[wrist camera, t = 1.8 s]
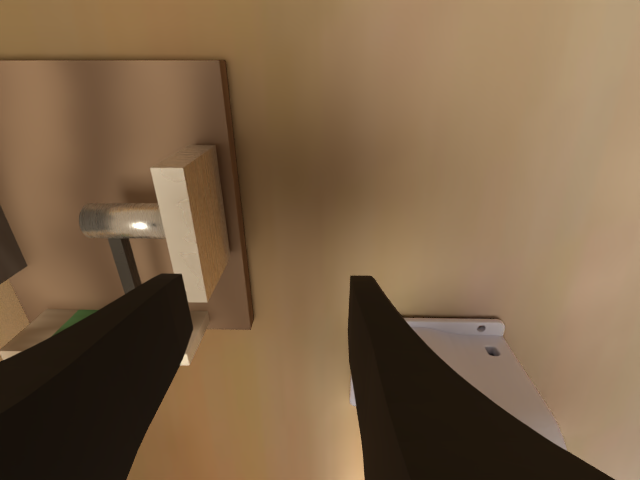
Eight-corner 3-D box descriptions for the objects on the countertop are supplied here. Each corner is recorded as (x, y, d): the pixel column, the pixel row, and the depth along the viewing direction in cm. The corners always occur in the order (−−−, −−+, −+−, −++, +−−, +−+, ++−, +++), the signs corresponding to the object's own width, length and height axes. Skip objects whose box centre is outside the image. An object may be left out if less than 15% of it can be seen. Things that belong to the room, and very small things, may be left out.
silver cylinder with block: (215, 144, 16) (183, 167, 12) (237, 308, 20) (218, 361, 17) (99, 144, 16) (33, 167, 13) (145, 307, 21) (106, 359, 17)
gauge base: (225, 60, 16) (157, 57, 10) (253, 319, 23) (225, 416, 16) (-74, 61, 16) (-330, 57, 10) (43, 316, 23) (-65, 410, 17)
